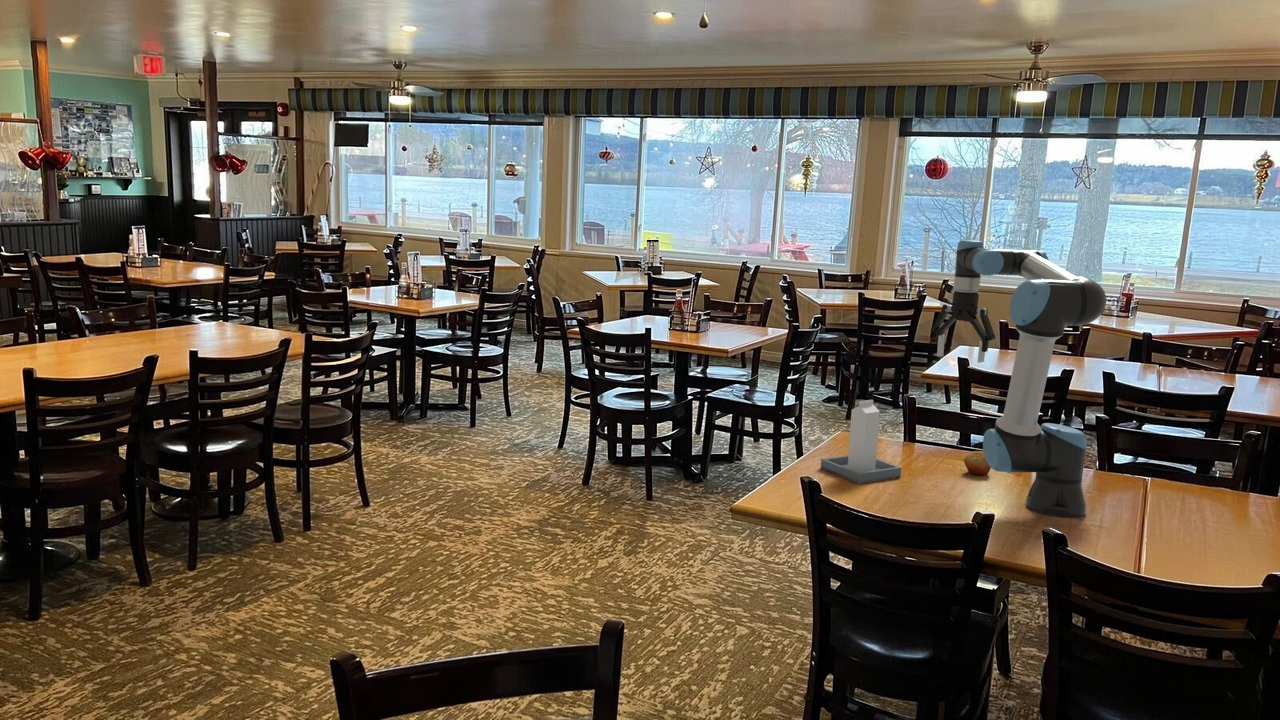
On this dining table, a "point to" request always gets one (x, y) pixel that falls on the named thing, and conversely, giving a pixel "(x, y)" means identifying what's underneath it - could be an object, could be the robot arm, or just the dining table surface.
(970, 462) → the fruit
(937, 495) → the dining table surface
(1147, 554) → the dining table surface
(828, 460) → the tray
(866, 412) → the milk
